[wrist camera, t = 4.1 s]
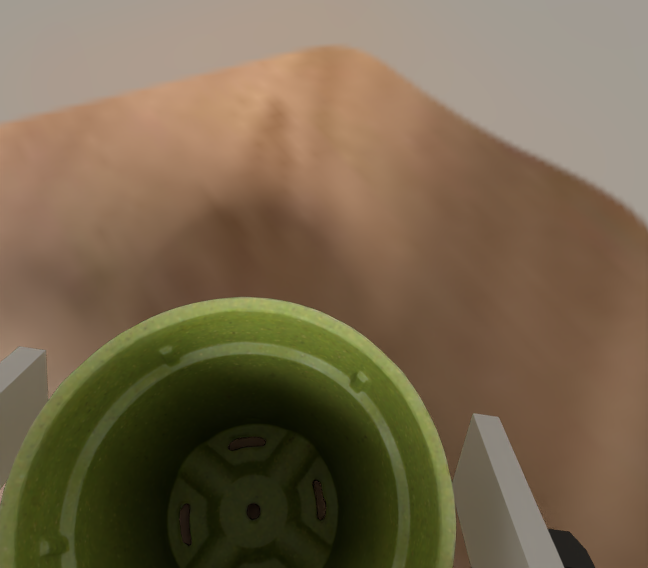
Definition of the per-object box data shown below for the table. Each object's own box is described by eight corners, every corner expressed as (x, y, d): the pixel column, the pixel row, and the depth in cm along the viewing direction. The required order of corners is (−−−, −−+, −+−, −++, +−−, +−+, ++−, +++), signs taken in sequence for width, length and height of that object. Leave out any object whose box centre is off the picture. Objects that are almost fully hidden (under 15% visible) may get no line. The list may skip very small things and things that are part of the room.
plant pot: (109, 402, 20) (-3, 331, 12) (353, 358, 22) (396, 268, 14) (125, 700, 17) (-15, 869, 9) (414, 626, 18) (519, 715, 10)
